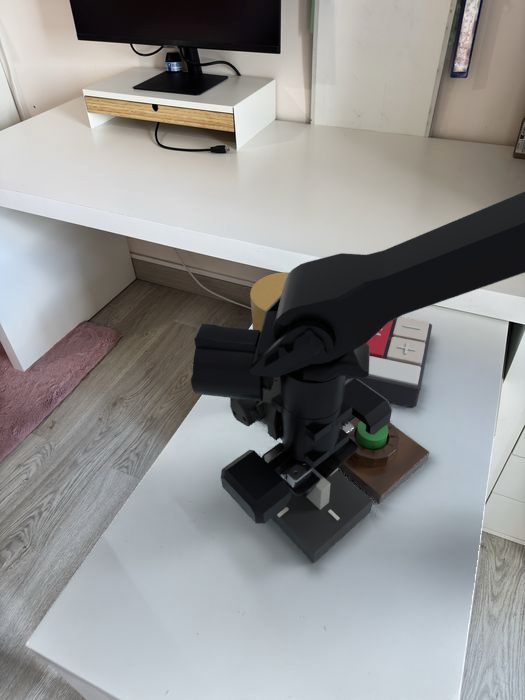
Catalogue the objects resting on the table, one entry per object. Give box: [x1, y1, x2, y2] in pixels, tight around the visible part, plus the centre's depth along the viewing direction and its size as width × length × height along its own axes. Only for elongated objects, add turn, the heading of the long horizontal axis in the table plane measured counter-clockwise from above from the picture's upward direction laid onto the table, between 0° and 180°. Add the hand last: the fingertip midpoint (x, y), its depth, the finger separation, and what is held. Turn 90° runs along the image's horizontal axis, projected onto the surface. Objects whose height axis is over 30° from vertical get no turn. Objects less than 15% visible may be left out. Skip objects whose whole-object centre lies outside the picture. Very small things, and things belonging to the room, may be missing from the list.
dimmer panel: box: [270, 468, 374, 564], centre depth 58 cm, size 11×9×3 cm
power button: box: [356, 421, 388, 450], centre depth 60 cm, size 4×4×2 cm
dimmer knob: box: [307, 468, 330, 510], centre depth 55 cm, size 5×1×4 cm, turn 40°
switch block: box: [338, 417, 431, 504], centre depth 62 cm, size 11×9×4 cm
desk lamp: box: [249, 271, 291, 331], centre depth 63 cm, size 8×8×19 cm
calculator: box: [345, 316, 433, 408], centre depth 73 cm, size 11×4×15 cm
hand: (308, 488), depth 56 cm, fingers closed on dimmer knob
